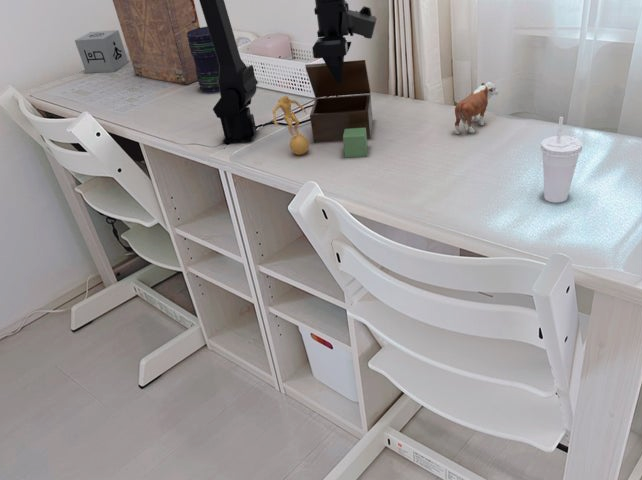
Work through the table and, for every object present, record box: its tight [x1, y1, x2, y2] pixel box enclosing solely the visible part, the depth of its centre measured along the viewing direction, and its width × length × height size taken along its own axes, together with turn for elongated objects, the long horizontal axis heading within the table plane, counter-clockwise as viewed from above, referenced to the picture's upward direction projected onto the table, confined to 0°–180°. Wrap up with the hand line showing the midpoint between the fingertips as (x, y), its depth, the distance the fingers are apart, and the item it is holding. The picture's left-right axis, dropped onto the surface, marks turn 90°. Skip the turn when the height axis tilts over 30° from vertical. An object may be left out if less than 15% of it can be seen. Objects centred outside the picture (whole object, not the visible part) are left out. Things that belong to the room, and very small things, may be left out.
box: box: [309, 93, 374, 144], centre depth 134 cm, size 10×12×6 cm
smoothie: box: [540, 116, 584, 204], centre depth 99 cm, size 6×6×14 cm
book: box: [112, 0, 201, 85], centre depth 176 cm, size 25×9×30 cm, turn 52°
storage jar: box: [187, 21, 220, 94], centre depth 165 cm, size 10×10×18 cm
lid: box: [305, 59, 371, 98], centre depth 130 cm, size 11×12×1 cm
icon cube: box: [74, 29, 129, 74], centre depth 197 cm, size 10×10×10 cm
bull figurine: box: [454, 81, 499, 135], centre depth 128 cm, size 4×13×8 cm, turn 137°
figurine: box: [272, 95, 310, 156], centre depth 125 cm, size 8×6×12 cm
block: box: [342, 128, 368, 159], centre depth 125 cm, size 4×4×4 cm
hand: (339, 82), depth 125 cm, fingers closed
